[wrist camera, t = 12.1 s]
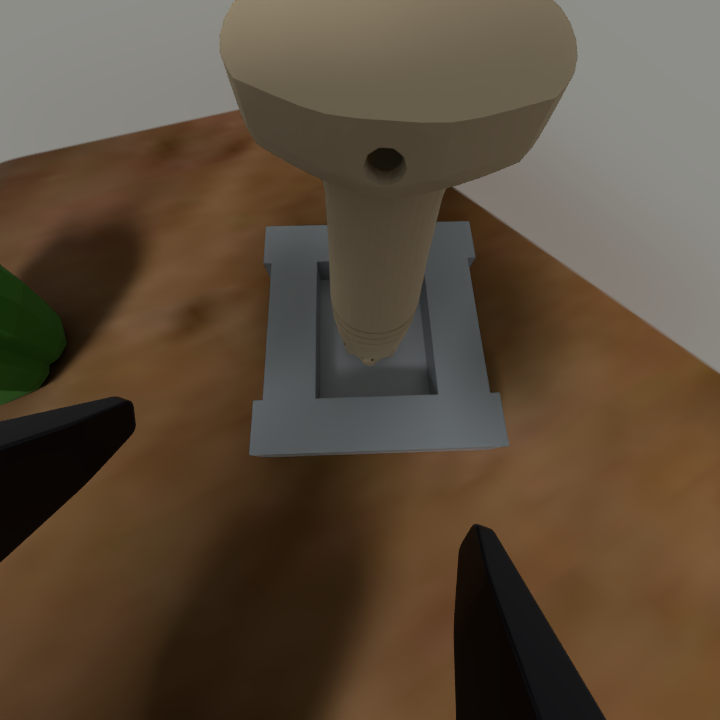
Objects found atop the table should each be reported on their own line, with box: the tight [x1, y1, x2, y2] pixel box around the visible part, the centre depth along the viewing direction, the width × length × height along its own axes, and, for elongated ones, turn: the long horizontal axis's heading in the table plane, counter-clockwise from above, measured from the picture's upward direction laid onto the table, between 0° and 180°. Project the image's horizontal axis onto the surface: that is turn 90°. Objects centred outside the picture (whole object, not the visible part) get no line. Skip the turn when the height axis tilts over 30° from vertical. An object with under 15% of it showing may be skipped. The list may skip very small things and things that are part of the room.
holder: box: [249, 221, 509, 457], centre depth 20 cm, size 14×13×3 cm
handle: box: [220, 0, 577, 366], centre depth 13 cm, size 5×6×15 cm
